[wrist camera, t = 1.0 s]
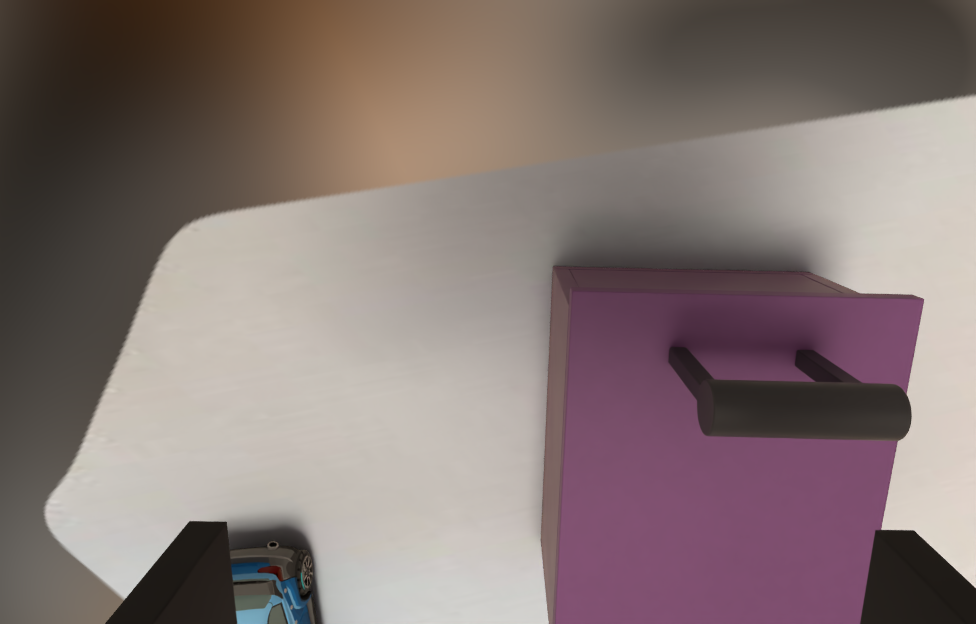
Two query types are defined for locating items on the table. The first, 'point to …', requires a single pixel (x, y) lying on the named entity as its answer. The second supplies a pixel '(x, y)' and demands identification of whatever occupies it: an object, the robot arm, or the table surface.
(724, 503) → the lid
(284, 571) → the toy car
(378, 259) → the table surface
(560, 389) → the storage box
